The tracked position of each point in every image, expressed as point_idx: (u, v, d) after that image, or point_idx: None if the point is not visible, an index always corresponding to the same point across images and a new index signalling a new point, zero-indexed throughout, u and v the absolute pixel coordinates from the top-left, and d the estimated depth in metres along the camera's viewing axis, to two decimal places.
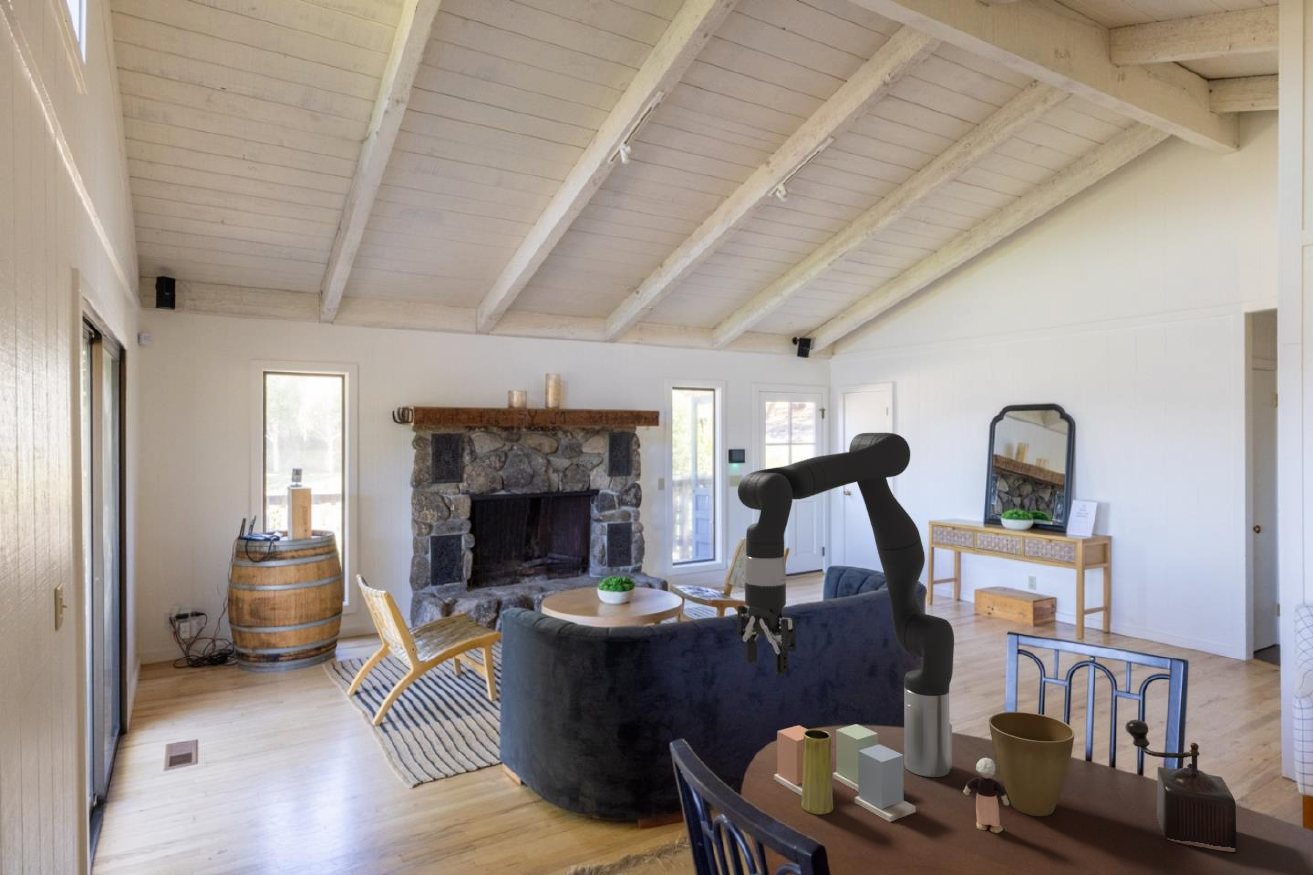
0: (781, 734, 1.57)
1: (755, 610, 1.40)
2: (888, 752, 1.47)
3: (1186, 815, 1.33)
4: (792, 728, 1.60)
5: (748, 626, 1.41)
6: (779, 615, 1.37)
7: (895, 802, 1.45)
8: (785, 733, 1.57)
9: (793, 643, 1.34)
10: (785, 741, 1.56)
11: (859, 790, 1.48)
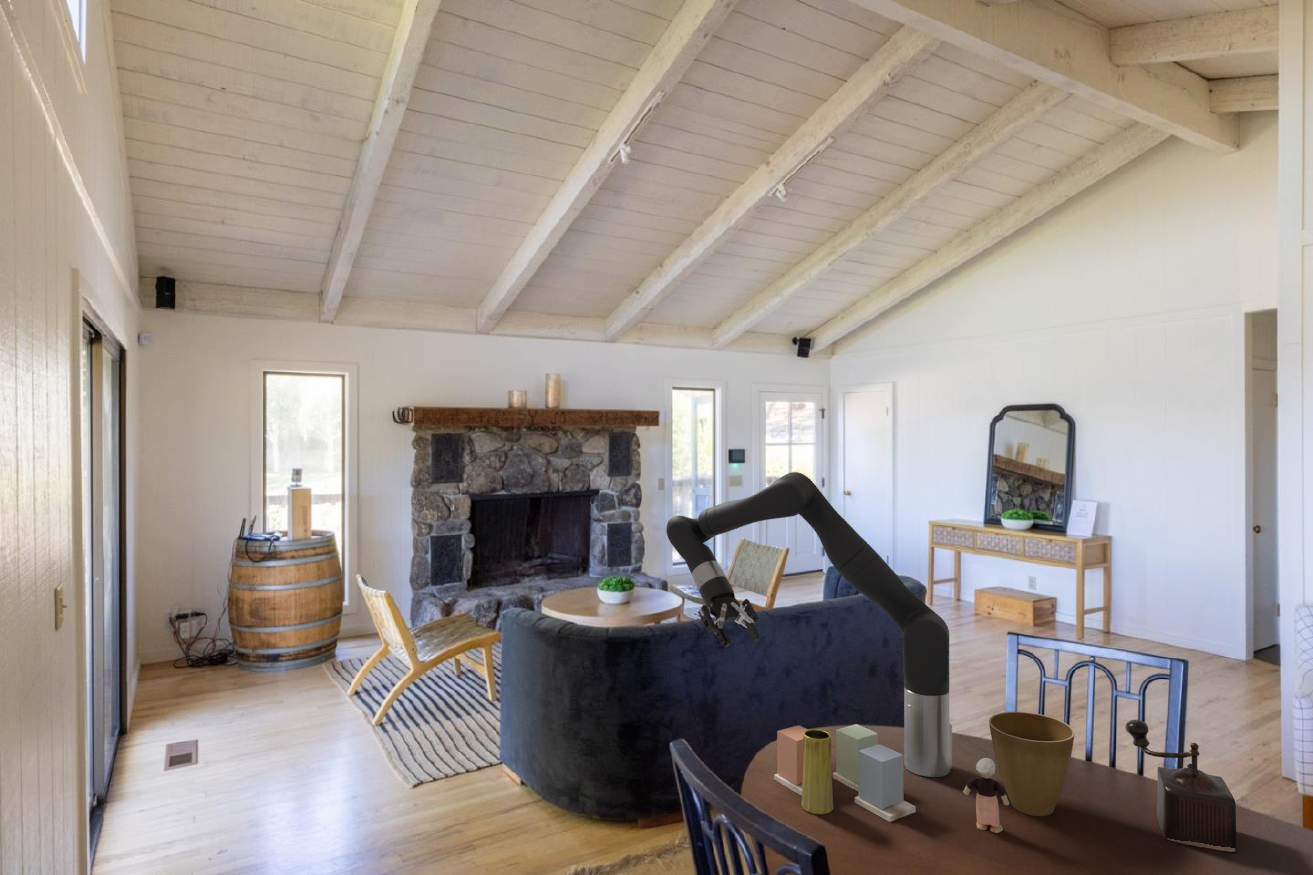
0: (781, 734, 1.57)
1: None
2: (888, 752, 1.47)
3: (1186, 815, 1.33)
4: (792, 728, 1.60)
5: None
6: None
7: (895, 802, 1.45)
8: (785, 733, 1.57)
9: (708, 622, 1.72)
10: (785, 741, 1.56)
11: (859, 790, 1.48)
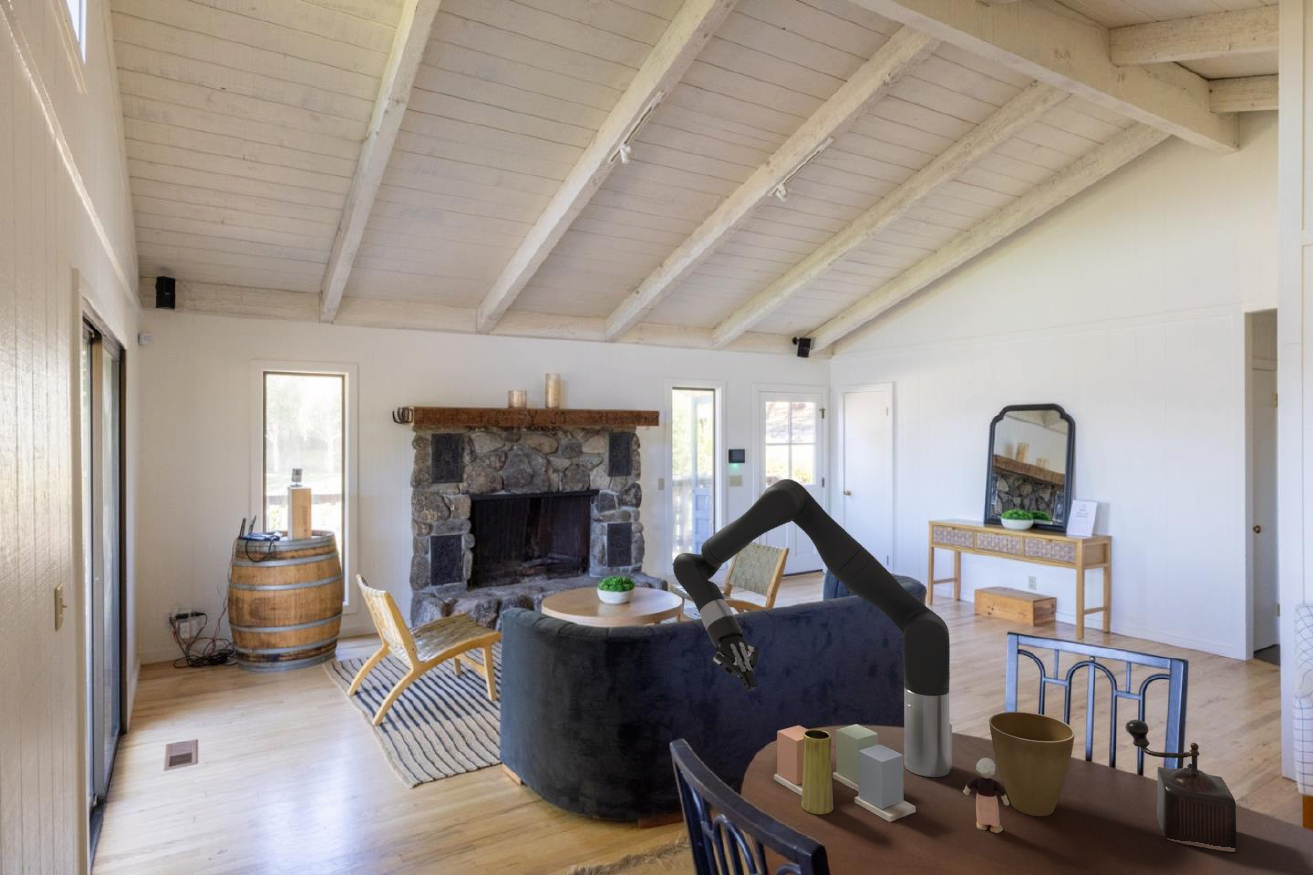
0: (781, 734, 1.57)
1: None
2: (888, 752, 1.47)
3: (1186, 815, 1.33)
4: (792, 728, 1.60)
5: None
6: (718, 648, 1.74)
7: (895, 802, 1.45)
8: (785, 733, 1.57)
9: (731, 668, 1.71)
10: (785, 741, 1.56)
11: (859, 790, 1.48)
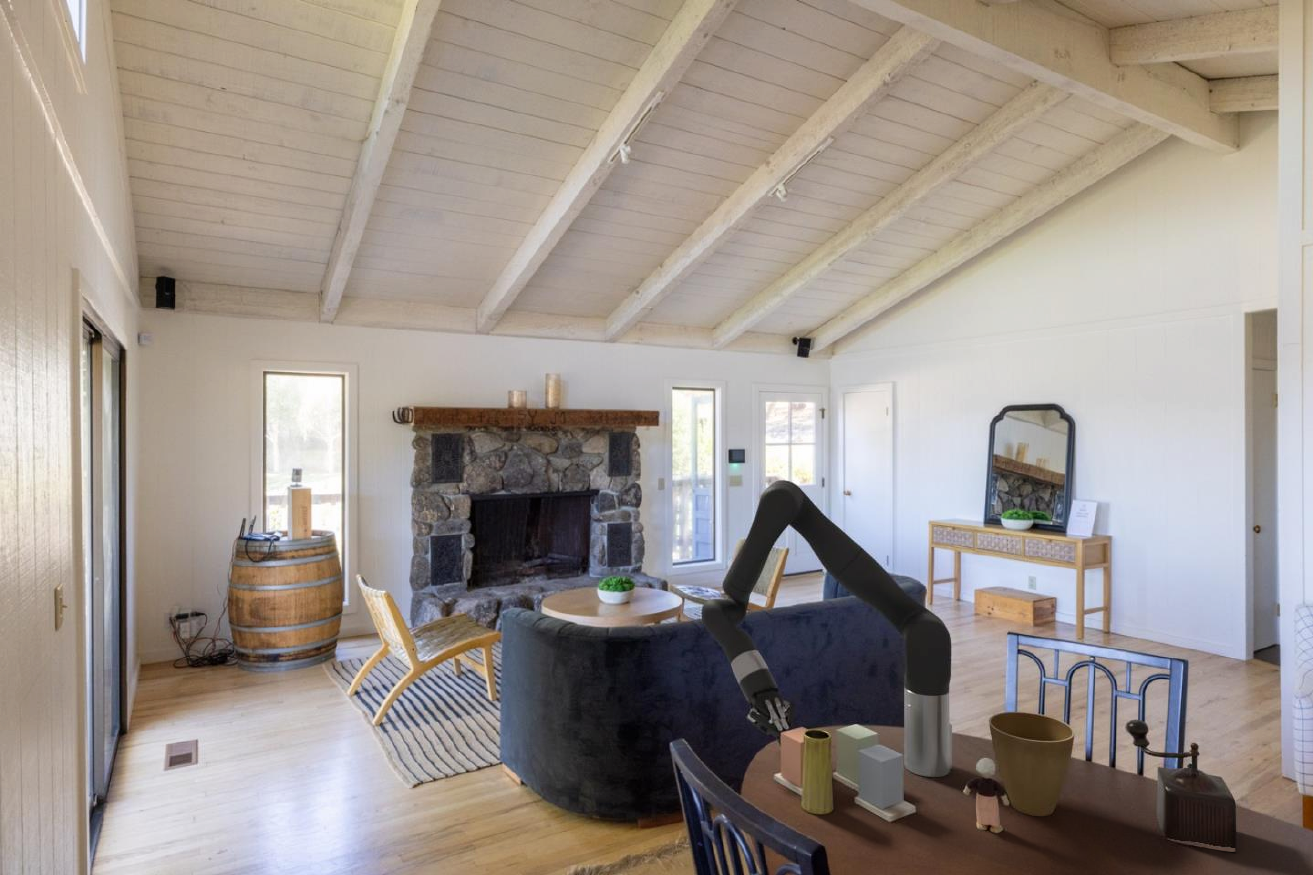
0: (785, 736, 1.56)
1: None
2: (888, 752, 1.47)
3: (1186, 815, 1.33)
4: (796, 730, 1.59)
5: None
6: (752, 705, 1.64)
7: (895, 802, 1.45)
8: (789, 735, 1.56)
9: (767, 727, 1.60)
10: (789, 743, 1.55)
11: (859, 790, 1.48)
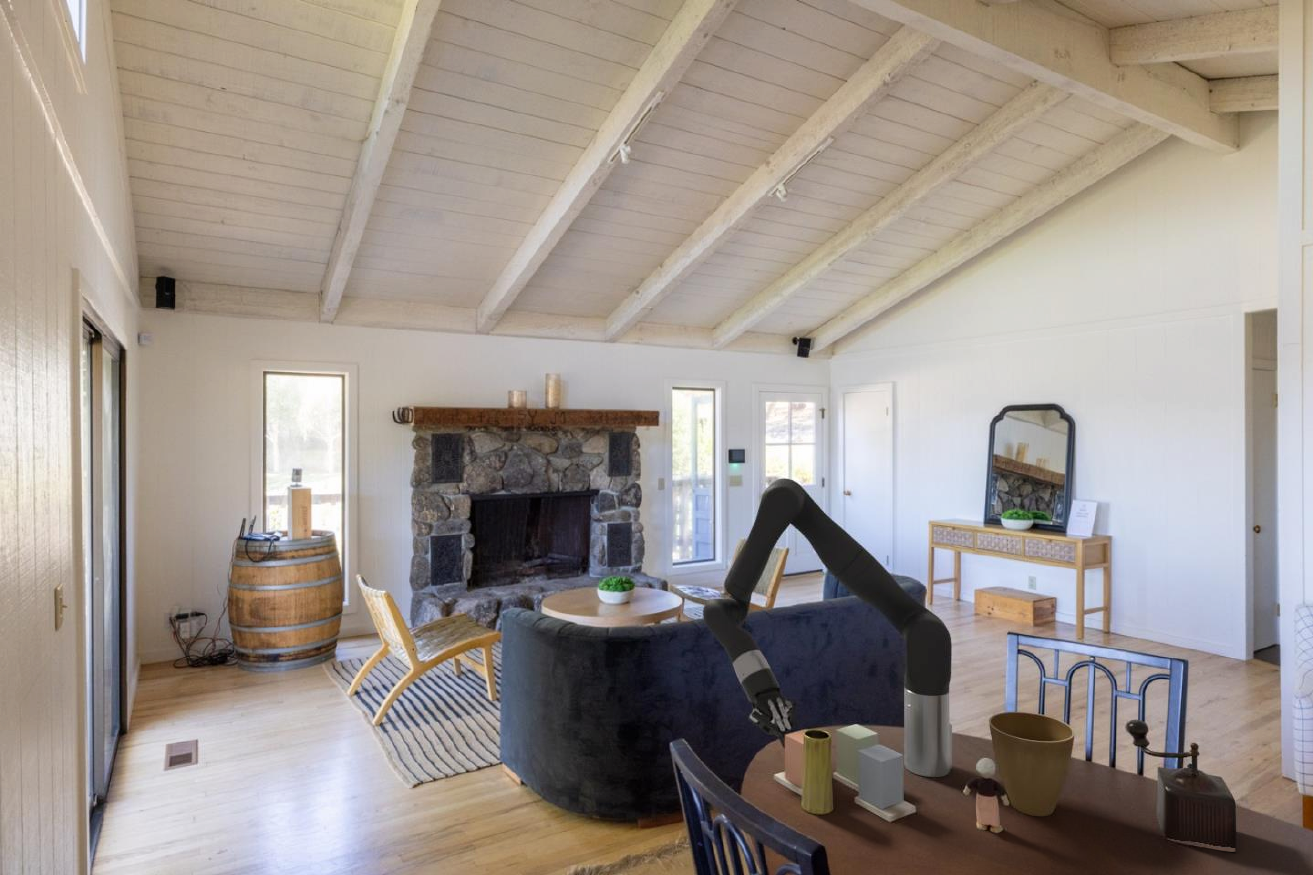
0: (789, 738, 1.55)
1: None
2: (888, 752, 1.47)
3: (1186, 815, 1.33)
4: (800, 732, 1.58)
5: None
6: (754, 705, 1.63)
7: (895, 802, 1.45)
8: (793, 737, 1.55)
9: (769, 727, 1.60)
10: (793, 745, 1.54)
11: (859, 790, 1.48)
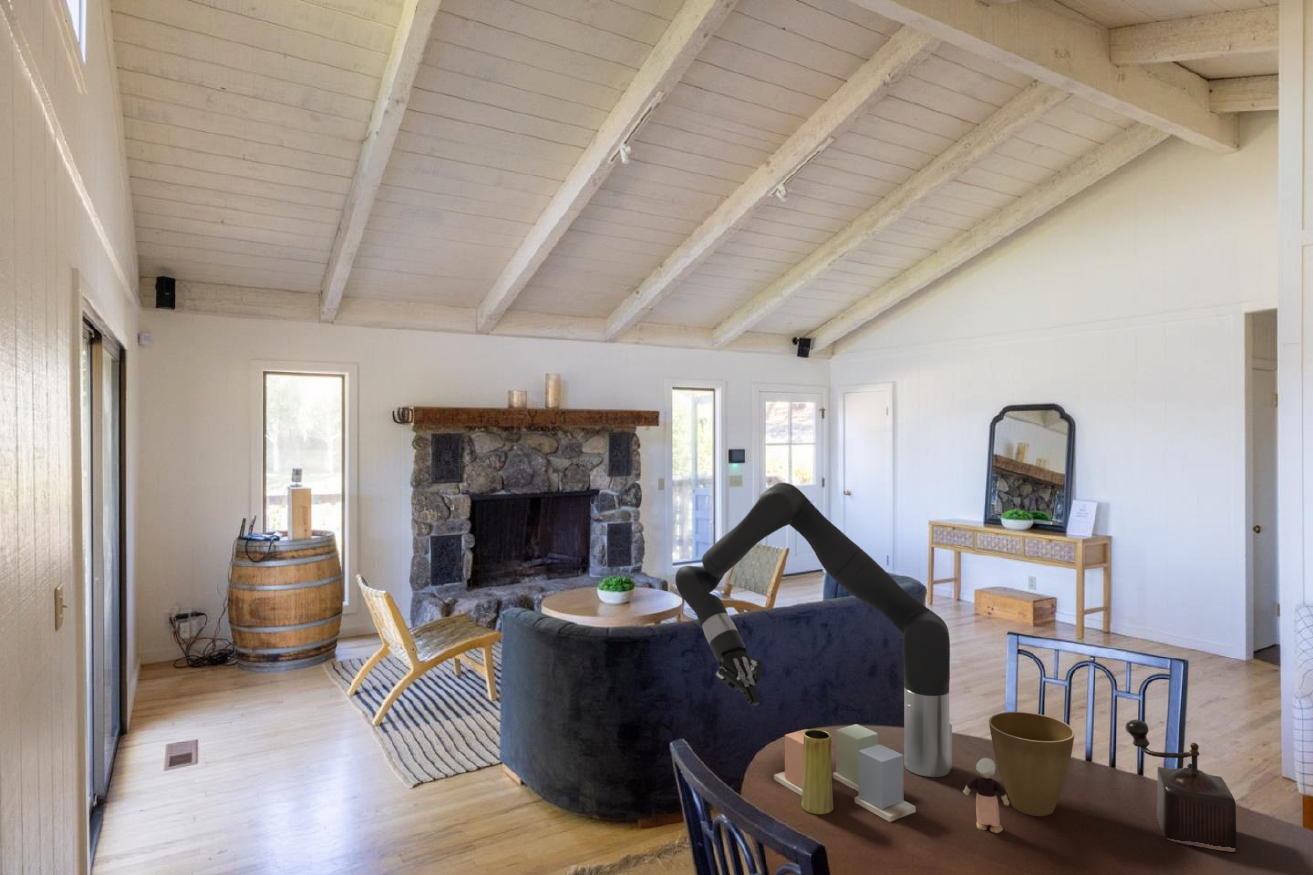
0: (789, 738, 1.55)
1: None
2: (888, 752, 1.47)
3: (1186, 815, 1.33)
4: (800, 732, 1.58)
5: None
6: None
7: (895, 802, 1.45)
8: (793, 737, 1.55)
9: (734, 683, 1.70)
10: (793, 745, 1.54)
11: (859, 790, 1.48)
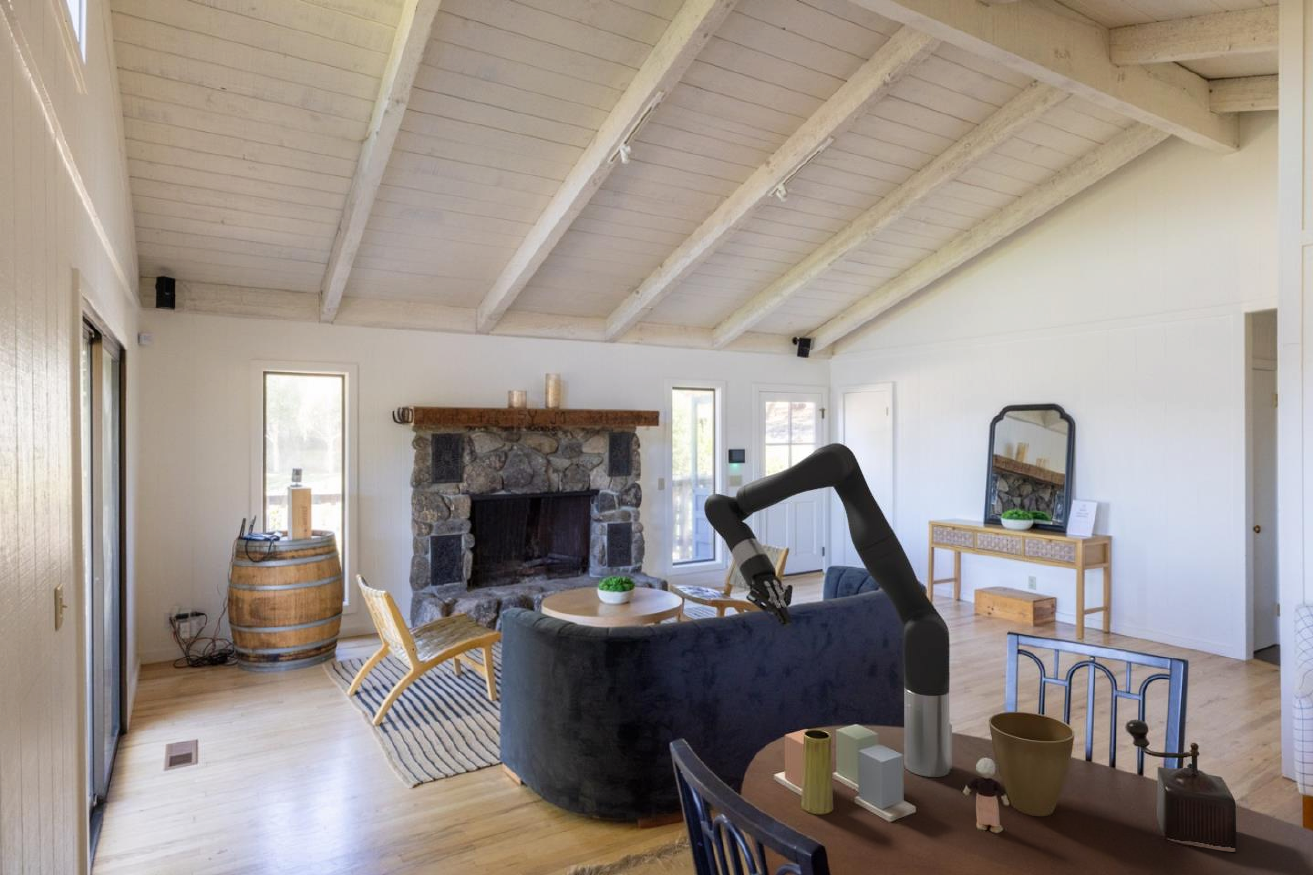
0: (789, 738, 1.55)
1: None
2: (888, 752, 1.47)
3: (1186, 815, 1.33)
4: (800, 732, 1.58)
5: None
6: (752, 586, 1.73)
7: (895, 802, 1.45)
8: (793, 737, 1.55)
9: (766, 604, 1.70)
10: (793, 745, 1.54)
11: (859, 790, 1.48)
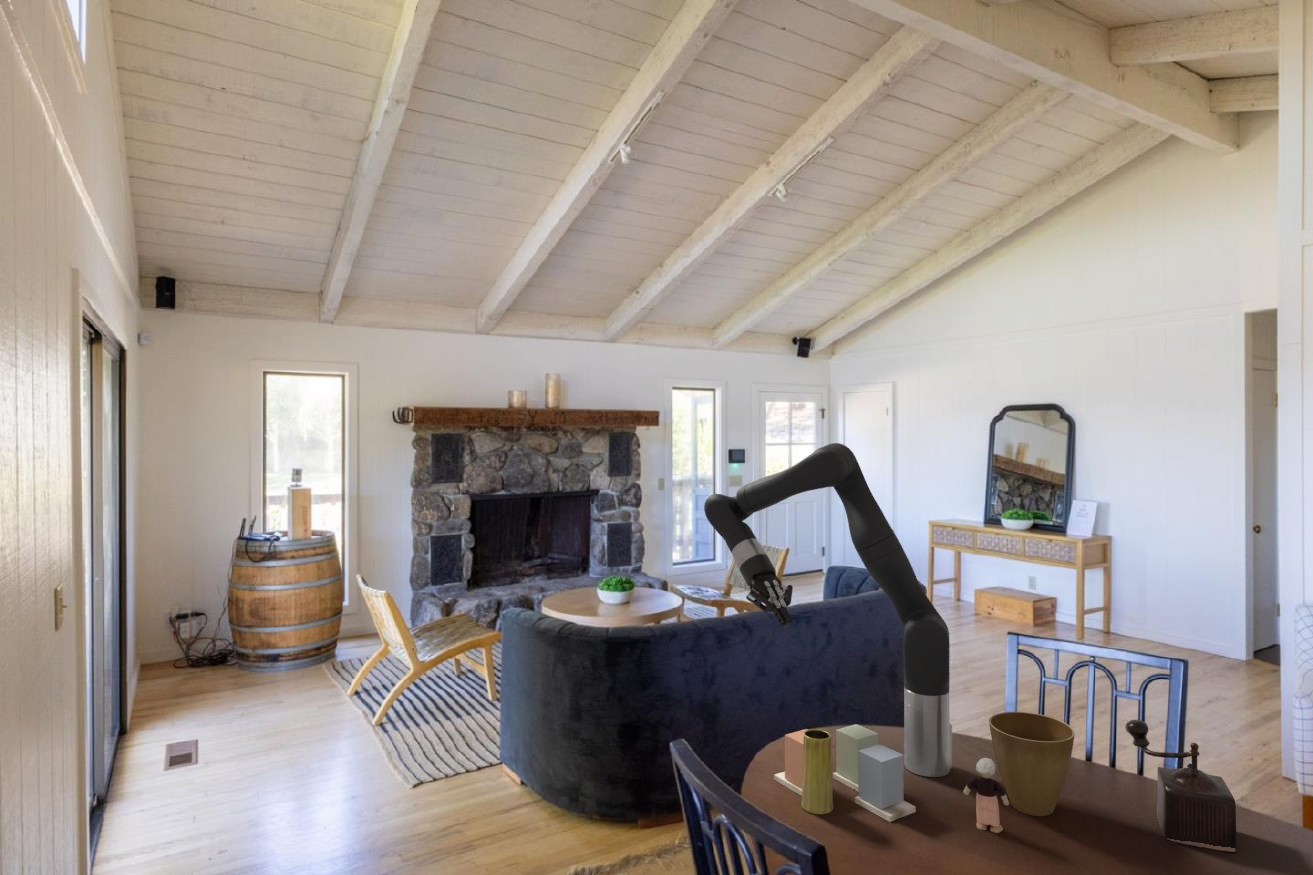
0: (789, 738, 1.55)
1: None
2: (888, 752, 1.47)
3: (1186, 815, 1.33)
4: (800, 732, 1.58)
5: None
6: (752, 586, 1.73)
7: (895, 802, 1.45)
8: (793, 737, 1.55)
9: (766, 604, 1.70)
10: (793, 745, 1.54)
11: (859, 790, 1.48)
